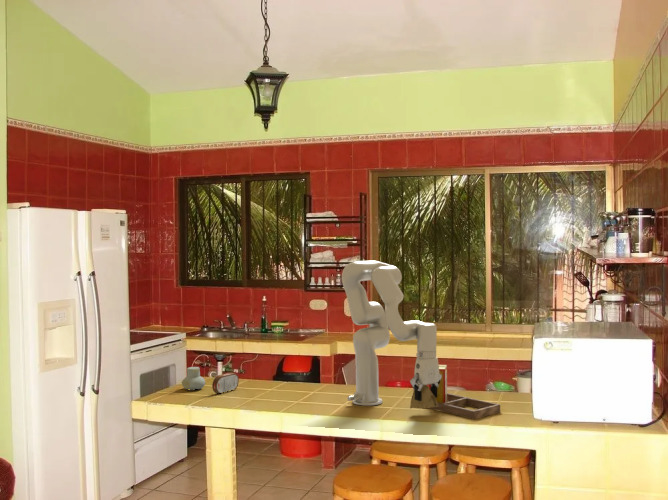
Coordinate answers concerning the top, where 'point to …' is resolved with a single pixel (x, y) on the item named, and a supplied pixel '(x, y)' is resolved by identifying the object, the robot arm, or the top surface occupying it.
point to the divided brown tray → (460, 401)
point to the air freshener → (193, 379)
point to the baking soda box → (442, 385)
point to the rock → (424, 399)
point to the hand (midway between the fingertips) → (426, 398)
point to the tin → (225, 382)
